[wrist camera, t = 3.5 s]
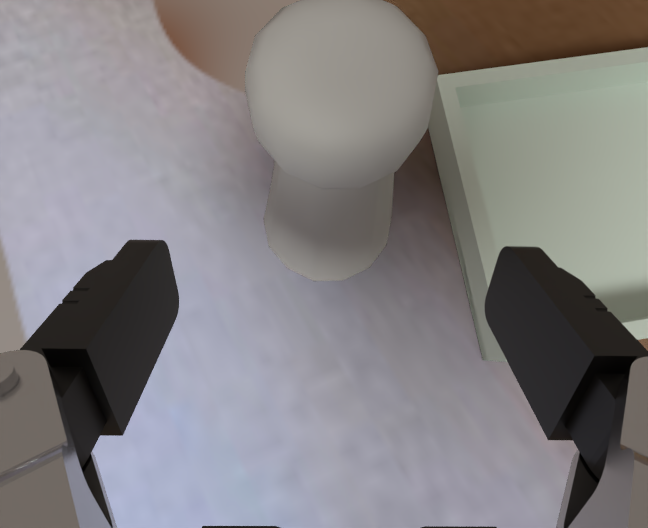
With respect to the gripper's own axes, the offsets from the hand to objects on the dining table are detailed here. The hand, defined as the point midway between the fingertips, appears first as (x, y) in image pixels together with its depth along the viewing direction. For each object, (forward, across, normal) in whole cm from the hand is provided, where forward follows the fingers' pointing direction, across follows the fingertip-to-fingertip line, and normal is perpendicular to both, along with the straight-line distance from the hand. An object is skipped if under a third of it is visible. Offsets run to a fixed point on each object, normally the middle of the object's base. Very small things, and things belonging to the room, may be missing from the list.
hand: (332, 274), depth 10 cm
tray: (+11, -14, +3) cm, 18 cm away
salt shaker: (+10, 0, +5) cm, 11 cm away
